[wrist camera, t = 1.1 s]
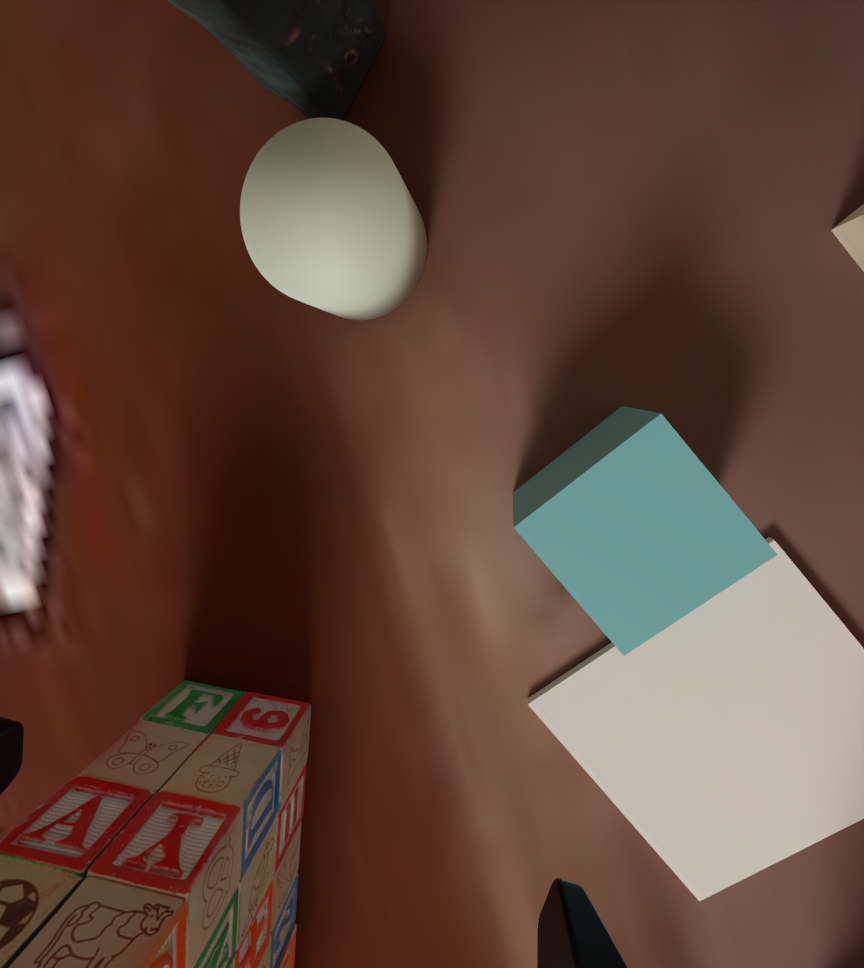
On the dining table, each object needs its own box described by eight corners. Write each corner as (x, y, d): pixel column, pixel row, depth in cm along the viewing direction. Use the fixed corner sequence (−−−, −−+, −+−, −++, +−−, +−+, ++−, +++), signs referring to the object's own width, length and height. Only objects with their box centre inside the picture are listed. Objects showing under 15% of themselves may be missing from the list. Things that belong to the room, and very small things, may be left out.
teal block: (708, 510, 19) (777, 554, 14) (596, 589, 20) (623, 656, 15) (621, 405, 19) (661, 413, 14) (512, 492, 20) (513, 527, 15)
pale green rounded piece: (456, 252, 18) (441, 217, 14) (356, 349, 20) (318, 340, 16) (363, 141, 18) (324, 75, 14) (268, 245, 19) (207, 211, 15)
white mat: (953, 760, 19) (962, 768, 19) (695, 892, 22) (699, 901, 21) (769, 536, 19) (774, 540, 18) (527, 698, 21) (527, 704, 21)
